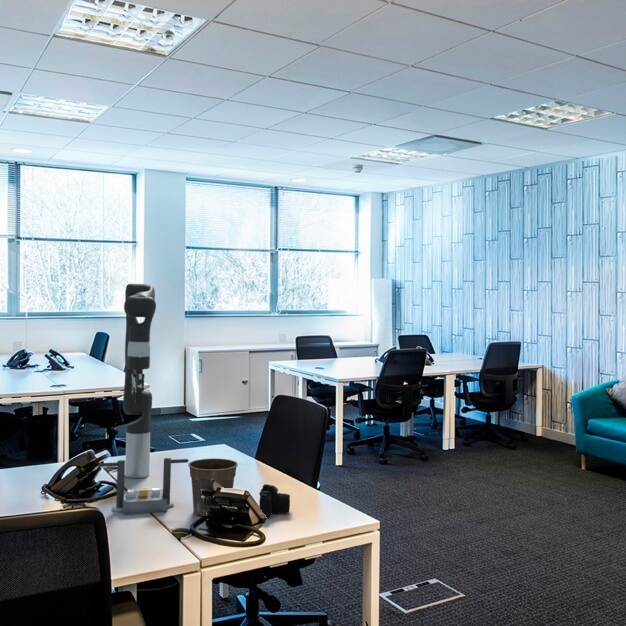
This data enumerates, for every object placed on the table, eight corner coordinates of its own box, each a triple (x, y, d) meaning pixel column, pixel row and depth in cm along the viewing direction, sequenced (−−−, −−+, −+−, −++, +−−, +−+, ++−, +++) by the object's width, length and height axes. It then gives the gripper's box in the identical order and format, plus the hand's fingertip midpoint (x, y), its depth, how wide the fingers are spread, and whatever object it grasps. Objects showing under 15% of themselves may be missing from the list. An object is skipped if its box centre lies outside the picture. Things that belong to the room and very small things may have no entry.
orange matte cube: (139, 494, 224) (139, 488, 224) (146, 494, 225) (147, 488, 225) (140, 496, 222) (140, 490, 222) (147, 496, 223) (147, 490, 223)
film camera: (286, 521, 215) (287, 493, 215) (256, 519, 216) (257, 491, 216) (291, 506, 230) (292, 480, 230) (263, 505, 231) (264, 479, 231)
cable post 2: (157, 504, 227) (158, 457, 227) (186, 502, 231) (187, 456, 231) (159, 508, 223) (160, 460, 222) (188, 506, 226) (189, 459, 226)
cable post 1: (97, 508, 221) (98, 460, 220) (127, 506, 224) (128, 458, 224) (97, 513, 216) (99, 463, 216) (128, 511, 219) (129, 462, 219)
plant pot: (182, 506, 226) (183, 459, 226) (229, 502, 232) (230, 456, 232) (192, 522, 211) (194, 471, 210) (242, 517, 217) (243, 467, 216)
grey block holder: (120, 503, 227) (120, 486, 226) (162, 500, 231) (162, 483, 231) (122, 514, 215) (123, 496, 215) (167, 511, 220) (167, 493, 220)
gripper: (125, 353, 236) (124, 399, 236) (129, 356, 222) (127, 405, 223) (147, 353, 238) (146, 398, 239) (152, 356, 225) (151, 404, 225)
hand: (137, 401), depth 231 cm, fingers open, 8 cm apart
